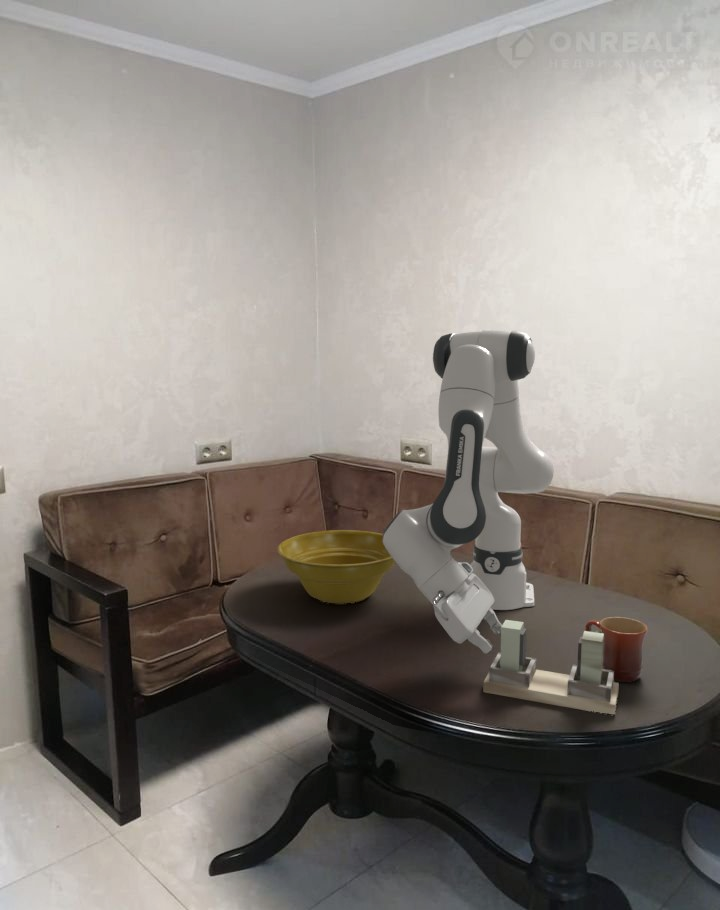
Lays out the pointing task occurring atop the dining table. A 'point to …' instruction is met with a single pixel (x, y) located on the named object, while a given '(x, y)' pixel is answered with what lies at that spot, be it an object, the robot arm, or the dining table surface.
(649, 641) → the dining table surface
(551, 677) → the cream peg holder
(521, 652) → the block
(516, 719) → the dining table surface
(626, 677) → the mug
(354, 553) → the planter bowl
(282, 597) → the dining table surface
